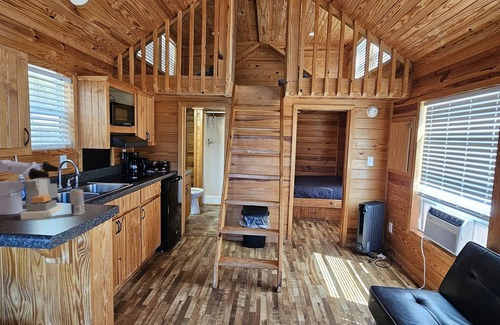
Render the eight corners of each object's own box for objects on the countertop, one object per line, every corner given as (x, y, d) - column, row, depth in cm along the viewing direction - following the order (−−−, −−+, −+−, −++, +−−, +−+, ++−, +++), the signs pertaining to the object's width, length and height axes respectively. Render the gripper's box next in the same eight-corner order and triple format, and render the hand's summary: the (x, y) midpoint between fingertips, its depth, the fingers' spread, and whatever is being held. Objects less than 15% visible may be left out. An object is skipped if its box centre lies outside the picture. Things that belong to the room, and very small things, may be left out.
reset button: (32, 202, 124) (31, 197, 124) (39, 200, 129) (38, 195, 128) (43, 202, 124) (43, 197, 124) (50, 199, 129) (49, 194, 129)
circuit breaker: (61, 202, 150) (58, 176, 149) (38, 209, 136) (36, 181, 135) (49, 202, 151) (46, 176, 150) (25, 209, 137) (22, 180, 135)
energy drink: (75, 212, 130) (73, 189, 129) (86, 212, 130) (85, 188, 129) (69, 216, 125) (67, 191, 123) (81, 215, 125) (79, 191, 124)
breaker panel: (20, 219, 120) (19, 206, 119) (41, 210, 134) (39, 199, 133) (44, 218, 121) (43, 206, 120) (62, 209, 135) (61, 198, 134)
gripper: (11, 165, 121) (43, 169, 123) (33, 156, 135) (61, 160, 137) (13, 179, 123) (44, 183, 125) (34, 169, 137) (62, 172, 139)
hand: (53, 172), depth 131 cm, fingers open, 7 cm apart
